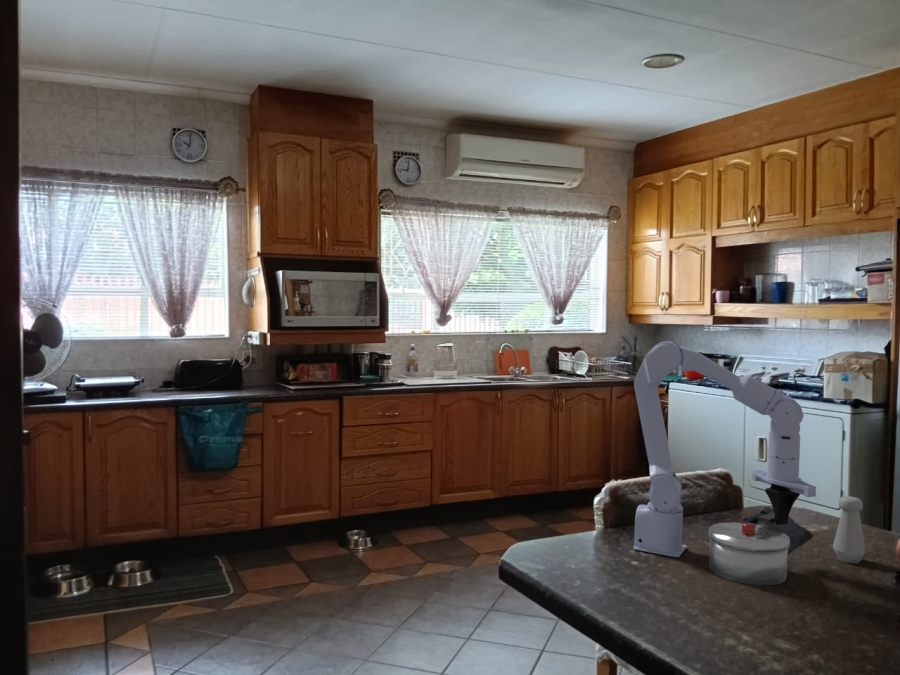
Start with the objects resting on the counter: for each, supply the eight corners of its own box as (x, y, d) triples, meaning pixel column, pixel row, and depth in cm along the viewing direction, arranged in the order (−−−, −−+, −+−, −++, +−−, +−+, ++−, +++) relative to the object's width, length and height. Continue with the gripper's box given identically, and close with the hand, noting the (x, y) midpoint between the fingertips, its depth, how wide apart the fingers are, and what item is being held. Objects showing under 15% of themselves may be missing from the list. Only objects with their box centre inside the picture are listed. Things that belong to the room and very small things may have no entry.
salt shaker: (868, 566, 144) (871, 502, 144) (838, 563, 146) (840, 500, 145) (858, 556, 150) (861, 495, 150) (828, 554, 151) (831, 493, 151)
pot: (782, 591, 130) (784, 558, 130) (702, 575, 137) (703, 544, 137) (792, 559, 147) (793, 530, 147) (720, 546, 154) (721, 519, 154)
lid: (766, 557, 129) (766, 540, 129) (693, 536, 141) (694, 520, 141) (816, 537, 142) (817, 521, 142) (746, 519, 153) (746, 504, 153)
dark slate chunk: (715, 542, 159) (716, 521, 159) (746, 521, 176) (747, 502, 176) (789, 559, 149) (790, 536, 149) (814, 534, 166) (815, 514, 166)
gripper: (829, 462, 138) (826, 532, 138) (771, 449, 152) (769, 512, 152) (800, 464, 136) (798, 536, 136) (745, 450, 149) (743, 515, 150)
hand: (781, 524), depth 144 cm, fingers closed
